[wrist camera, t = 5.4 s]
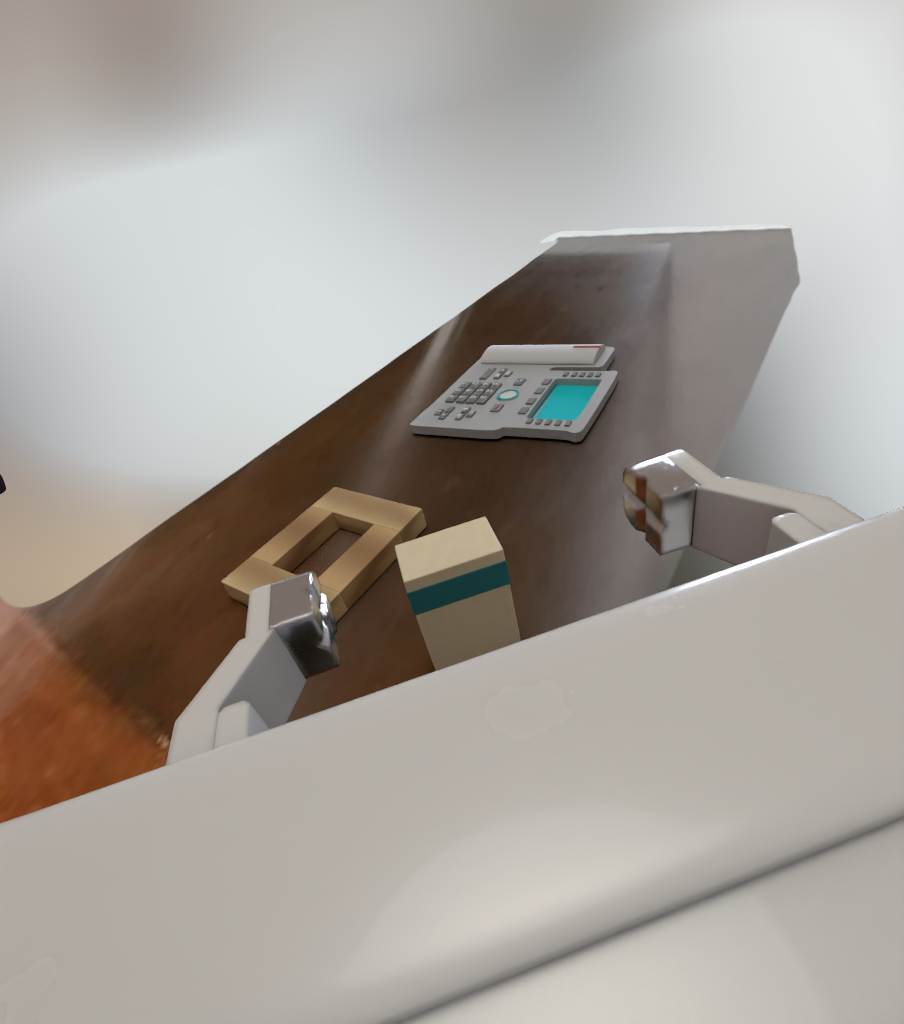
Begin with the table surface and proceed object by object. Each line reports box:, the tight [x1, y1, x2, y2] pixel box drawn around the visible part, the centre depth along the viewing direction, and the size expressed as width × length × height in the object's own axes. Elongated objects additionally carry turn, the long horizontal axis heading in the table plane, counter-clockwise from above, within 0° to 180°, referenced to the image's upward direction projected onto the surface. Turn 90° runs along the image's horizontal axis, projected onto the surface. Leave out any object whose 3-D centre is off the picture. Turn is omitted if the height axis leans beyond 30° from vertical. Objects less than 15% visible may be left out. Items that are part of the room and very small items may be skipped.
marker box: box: [395, 517, 520, 671], centre depth 32 cm, size 6×3×10 cm, turn 104°
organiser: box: [221, 487, 427, 622], centre depth 46 cm, size 14×11×2 cm
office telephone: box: [410, 344, 618, 442], centre depth 64 cm, size 23×3×20 cm
